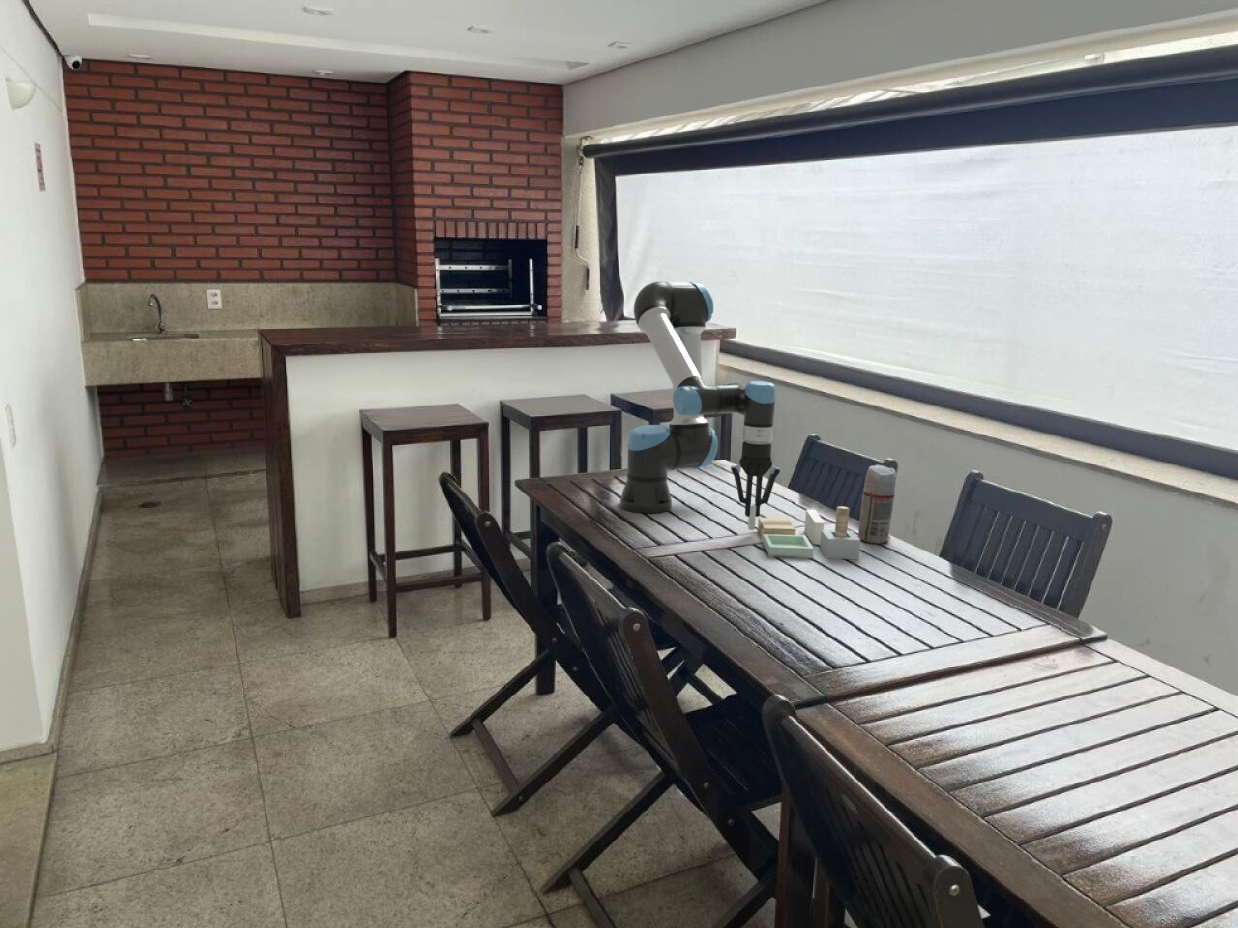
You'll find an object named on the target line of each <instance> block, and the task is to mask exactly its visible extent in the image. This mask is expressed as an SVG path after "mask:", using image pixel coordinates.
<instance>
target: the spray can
mask: <svg viewBox="0 0 1238 928" xmlns="http://www.w3.org/2000/svg"><path fill="white" fill-rule="evenodd" d="M896 481H897V473H896V470H895V469H894V468H893V467H887V466H886V465H883V464H879V463H878V464H874V465H870V466H869V467H868V469H867V471H866V475H865V479H864V485H863V490H862V496H861V503H860V512H859V519H858V533H857V537H858V538H859V539H860V541H862V542H865V543H871V544H885V543H887V542H888V541H887V540H888V538H889V533H890V526H891V520H892V513H893V507H894V501H895V500H894V499H895V495H896V494H895V492H896Z"/></svg>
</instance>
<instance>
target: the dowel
mask: <svg viewBox="0 0 1238 928" xmlns="http://www.w3.org/2000/svg"><path fill="white" fill-rule="evenodd" d="M835 515H836V516H835V526H834V530H835V536H834V537H847V530H848V528H849V527H848V525H849V516H850V507H847V506H837V507H836V514H835Z"/></svg>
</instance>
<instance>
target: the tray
mask: <svg viewBox="0 0 1238 928" xmlns="http://www.w3.org/2000/svg"><path fill="white" fill-rule="evenodd" d="M762 545H763V547H764V549H765V552H766V553H767V556H768V557H770V558H792V559H793V558H794V559H795V558H796V559H814V552H815V551H814V550H815V549H814V547H813V544H812V543H811V541H810V539H809V538H808V536H807V535H804V534H803V535H802V534H798V535H797V534H795V535H777V534H763V539H762Z"/></svg>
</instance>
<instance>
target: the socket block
mask: <svg viewBox="0 0 1238 928" xmlns="http://www.w3.org/2000/svg"><path fill="white" fill-rule="evenodd" d="M834 536H835V529H824V530H822V531H821V543H820V545H819V549H820V550H821V552H822V553H823V554H824V556H825V559H836V560H837V559H840V560H842V559H843V560H845V559H846V560H859V557H860V550H861V549H860V547H861V539H859V538H858V537H857V536H858V534H856V532H854V530H849V529H847V537H834Z"/></svg>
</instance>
